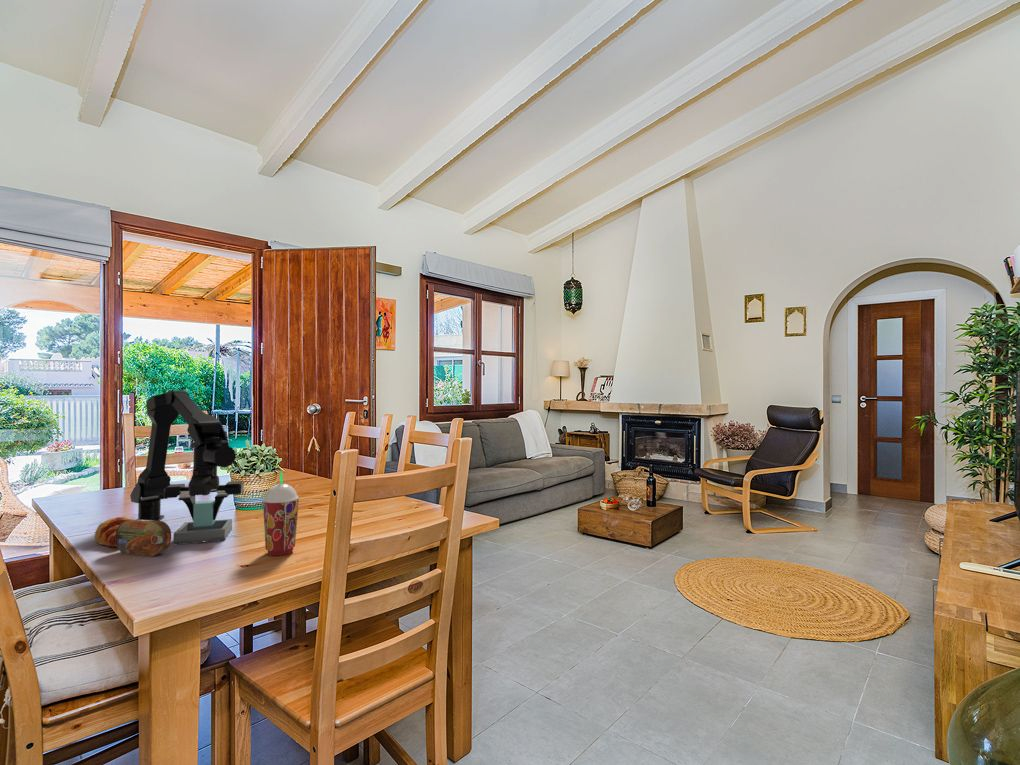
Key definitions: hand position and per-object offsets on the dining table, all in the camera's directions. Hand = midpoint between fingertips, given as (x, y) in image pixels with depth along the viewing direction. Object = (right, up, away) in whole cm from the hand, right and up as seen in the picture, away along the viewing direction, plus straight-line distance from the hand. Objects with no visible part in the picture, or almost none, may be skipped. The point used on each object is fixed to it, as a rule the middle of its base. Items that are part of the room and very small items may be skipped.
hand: (204, 520), depth 144 cm
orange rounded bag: (-6, -5, -15) cm, 17 cm away
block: (0, -1, 0) cm, 1 cm away
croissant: (-21, -5, -4) cm, 22 cm away
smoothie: (+27, -5, -14) cm, 31 cm away
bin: (0, -5, 0) cm, 5 cm away
